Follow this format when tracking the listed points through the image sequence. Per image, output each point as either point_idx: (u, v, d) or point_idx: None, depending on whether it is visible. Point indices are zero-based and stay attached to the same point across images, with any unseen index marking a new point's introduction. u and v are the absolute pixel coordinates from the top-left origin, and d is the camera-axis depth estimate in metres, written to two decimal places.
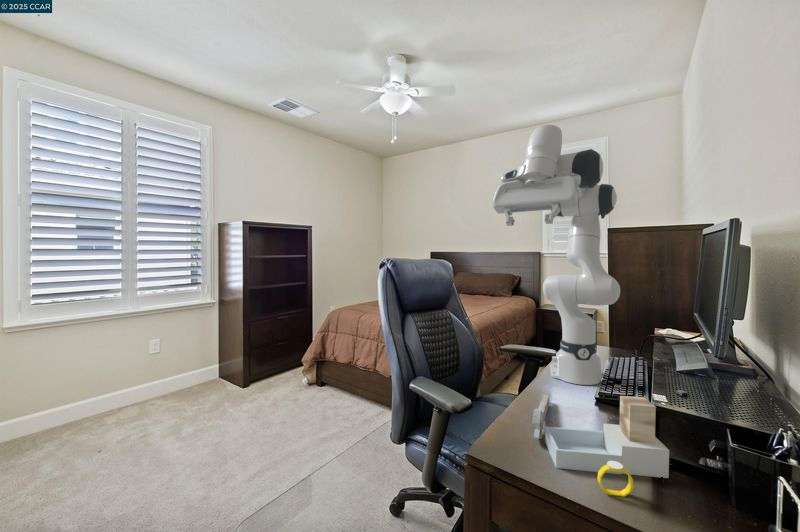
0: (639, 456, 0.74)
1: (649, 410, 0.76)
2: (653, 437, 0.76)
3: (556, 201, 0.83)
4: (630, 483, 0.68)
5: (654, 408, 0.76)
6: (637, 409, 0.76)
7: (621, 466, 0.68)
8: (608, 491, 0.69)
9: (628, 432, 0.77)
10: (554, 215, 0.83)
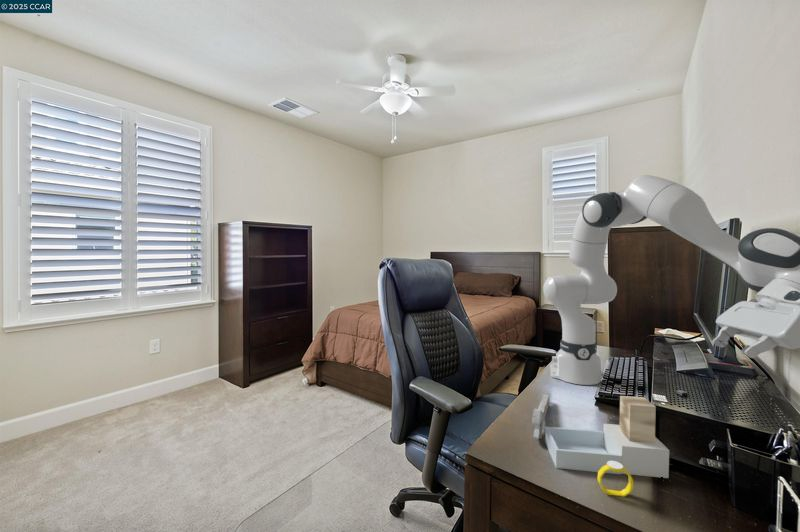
0: (639, 456, 0.74)
1: (649, 410, 0.76)
2: (653, 437, 0.76)
3: (735, 333, 0.79)
4: (630, 483, 0.68)
5: (654, 408, 0.76)
6: (637, 409, 0.76)
7: (621, 466, 0.68)
8: (608, 491, 0.69)
9: (628, 432, 0.77)
10: None
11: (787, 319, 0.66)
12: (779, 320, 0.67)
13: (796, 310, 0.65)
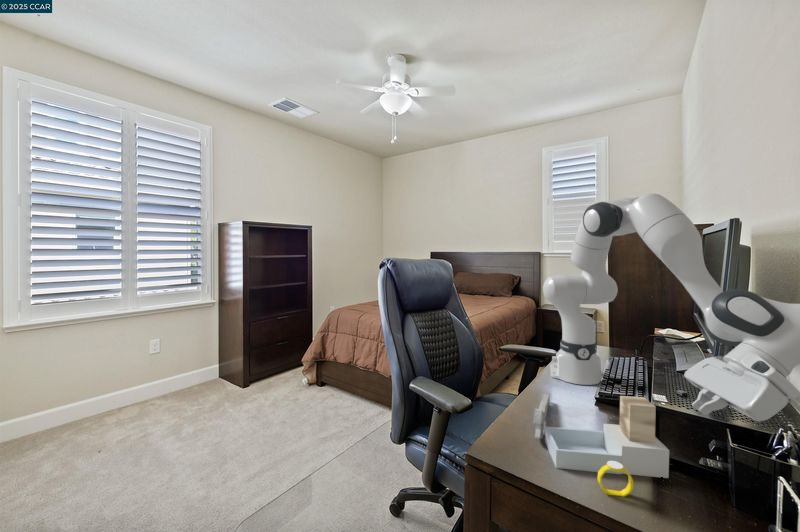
0: (639, 456, 0.74)
1: (649, 410, 0.76)
2: (653, 437, 0.76)
3: None
4: (630, 483, 0.68)
5: (654, 408, 0.76)
6: (637, 409, 0.76)
7: (621, 466, 0.68)
8: (608, 491, 0.69)
9: (628, 432, 0.77)
10: None
11: (754, 390, 0.68)
12: (746, 390, 0.69)
13: (763, 383, 0.67)
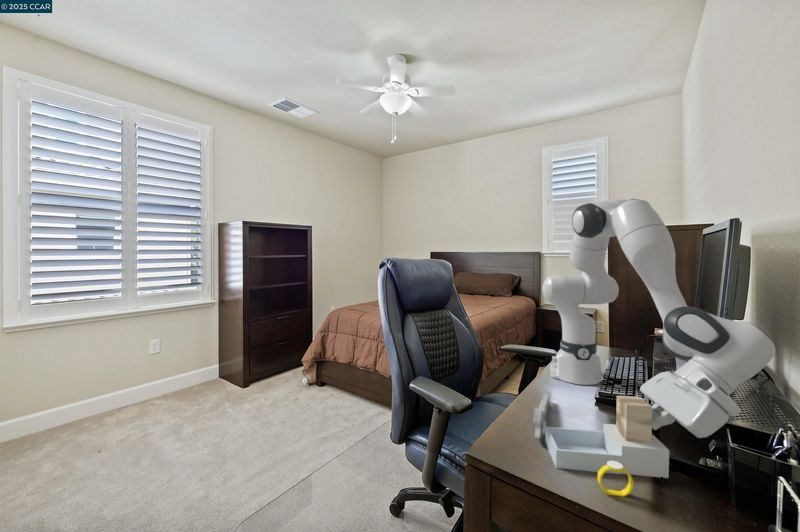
0: (639, 456, 0.74)
1: (646, 410, 0.76)
2: (649, 437, 0.76)
3: None
4: (630, 483, 0.68)
5: (650, 408, 0.76)
6: (633, 408, 0.77)
7: (621, 466, 0.68)
8: (608, 491, 0.69)
9: (625, 431, 0.77)
10: None
11: (697, 407, 0.70)
12: (690, 407, 0.71)
13: (705, 401, 0.69)
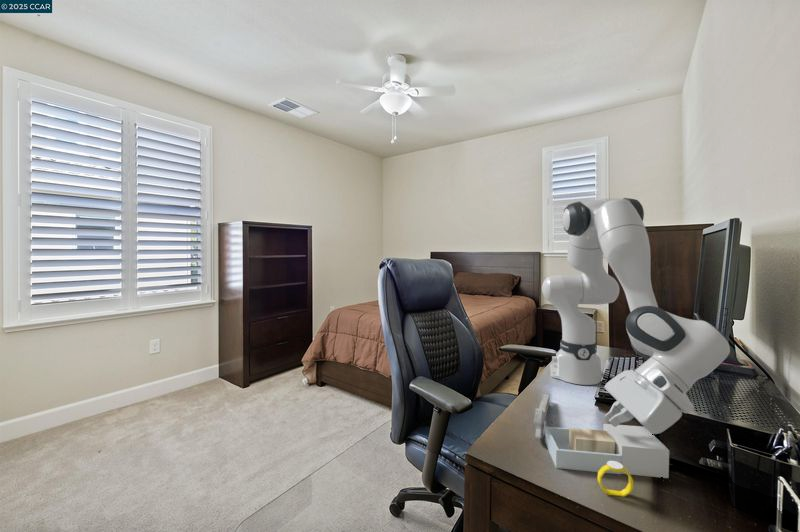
0: (639, 456, 0.74)
1: (580, 443, 0.79)
2: (609, 442, 0.78)
3: None
4: (630, 483, 0.68)
5: (577, 439, 0.79)
6: None
7: (621, 466, 0.68)
8: (608, 491, 0.69)
9: None
10: None
11: (652, 404, 0.71)
12: (646, 404, 0.73)
13: (659, 398, 0.70)
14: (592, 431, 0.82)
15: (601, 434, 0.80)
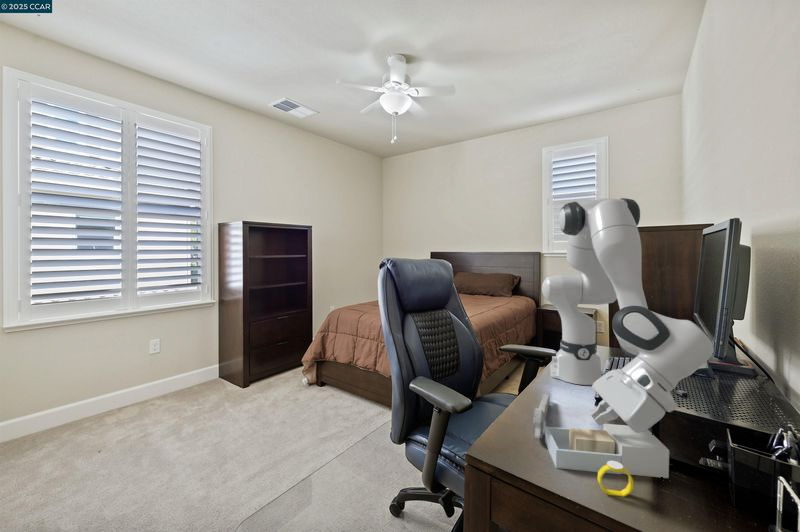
0: (639, 456, 0.74)
1: (580, 443, 0.79)
2: (609, 442, 0.78)
3: None
4: (630, 483, 0.68)
5: (577, 439, 0.79)
6: None
7: (621, 466, 0.68)
8: (608, 491, 0.69)
9: None
10: None
11: (635, 403, 0.72)
12: (630, 402, 0.73)
13: (642, 397, 0.71)
14: (592, 431, 0.82)
15: (601, 434, 0.80)
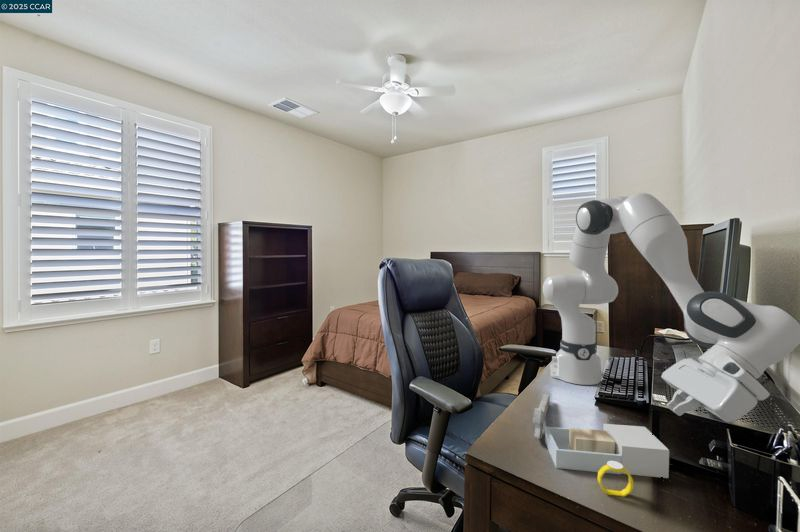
0: (639, 456, 0.74)
1: (580, 443, 0.79)
2: (609, 442, 0.78)
3: None
4: (630, 483, 0.68)
5: (577, 439, 0.79)
6: None
7: (621, 466, 0.68)
8: (608, 491, 0.69)
9: None
10: None
11: (724, 391, 0.69)
12: (717, 391, 0.70)
13: (733, 384, 0.68)
14: (592, 431, 0.82)
15: (601, 434, 0.80)
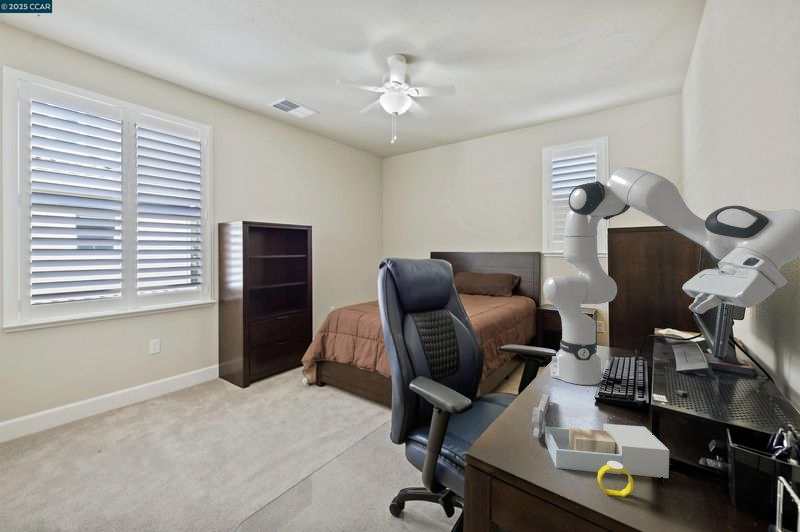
0: (639, 456, 0.74)
1: (580, 443, 0.79)
2: (609, 442, 0.78)
3: None
4: (630, 483, 0.68)
5: (577, 439, 0.79)
6: None
7: (621, 466, 0.68)
8: (608, 491, 0.69)
9: None
10: None
11: (745, 282, 0.75)
12: (738, 283, 0.76)
13: (753, 273, 0.73)
14: (592, 431, 0.82)
15: (601, 434, 0.80)
